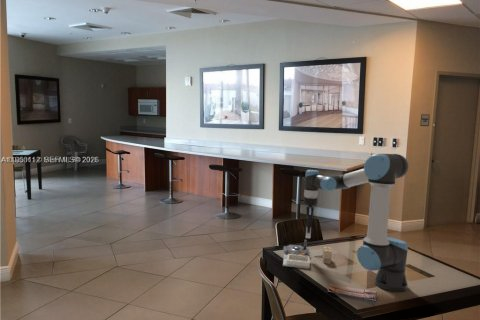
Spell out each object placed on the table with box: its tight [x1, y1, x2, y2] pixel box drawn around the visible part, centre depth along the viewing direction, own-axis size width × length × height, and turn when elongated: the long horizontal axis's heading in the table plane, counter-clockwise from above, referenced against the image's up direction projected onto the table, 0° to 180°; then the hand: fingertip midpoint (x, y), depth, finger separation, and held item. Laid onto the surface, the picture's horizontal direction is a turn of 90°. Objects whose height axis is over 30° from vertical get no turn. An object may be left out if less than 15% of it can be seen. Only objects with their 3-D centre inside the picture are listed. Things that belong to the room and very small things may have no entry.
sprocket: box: [282, 239, 311, 256], centre depth 223 cm, size 16×16×7 cm
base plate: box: [282, 252, 311, 270], centre depth 218 cm, size 30×14×3 cm, turn 171°
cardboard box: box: [322, 246, 333, 265], centre depth 215 cm, size 7×4×7 cm, turn 171°
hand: (308, 237), depth 219 cm, fingers closed
